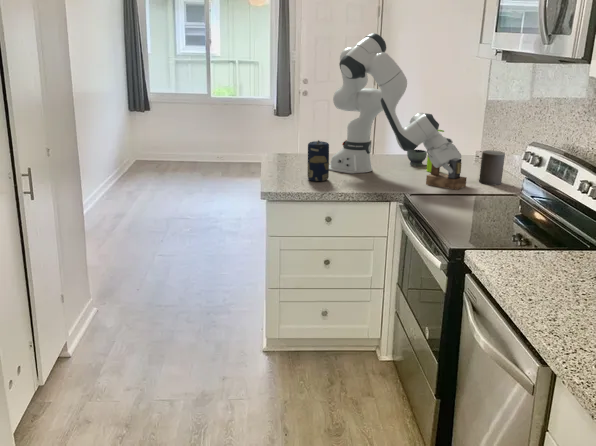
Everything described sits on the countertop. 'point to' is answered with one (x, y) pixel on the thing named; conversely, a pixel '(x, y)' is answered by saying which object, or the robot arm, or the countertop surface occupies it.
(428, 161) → the soap dispenser
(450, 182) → the hand plane
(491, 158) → the pillar candle
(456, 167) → the lever cap
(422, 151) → the mortar and pestle
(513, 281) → the countertop surface
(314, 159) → the canister
